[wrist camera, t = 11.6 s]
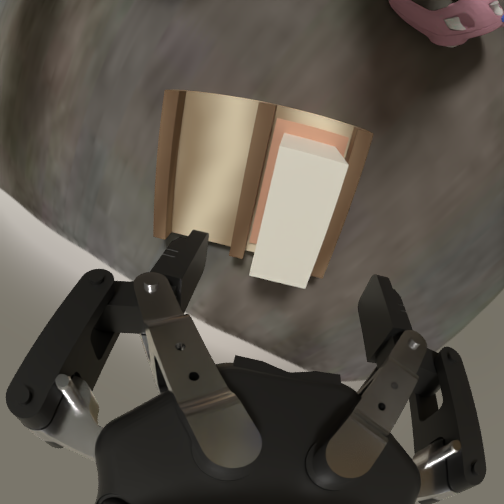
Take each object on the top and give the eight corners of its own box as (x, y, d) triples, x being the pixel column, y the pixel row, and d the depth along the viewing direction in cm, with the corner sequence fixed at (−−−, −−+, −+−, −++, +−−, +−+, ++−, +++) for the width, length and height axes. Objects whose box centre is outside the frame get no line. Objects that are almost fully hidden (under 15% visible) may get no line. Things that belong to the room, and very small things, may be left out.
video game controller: (402, 38, 16) (457, 64, 12) (379, -5, 13) (436, 7, 9) (468, 9, 12) (522, 32, 7) (451, -30, 9) (509, -15, 4)
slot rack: (164, 224, 27) (153, 236, 25) (177, 89, 20) (164, 89, 18) (320, 262, 27) (322, 278, 24) (365, 129, 20) (373, 133, 18)
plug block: (283, 132, 20) (279, 145, 15) (335, 146, 20) (348, 164, 15) (259, 234, 25) (249, 275, 20) (304, 245, 25) (305, 288, 20)
